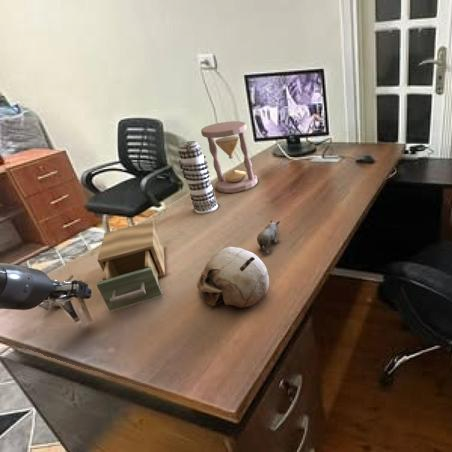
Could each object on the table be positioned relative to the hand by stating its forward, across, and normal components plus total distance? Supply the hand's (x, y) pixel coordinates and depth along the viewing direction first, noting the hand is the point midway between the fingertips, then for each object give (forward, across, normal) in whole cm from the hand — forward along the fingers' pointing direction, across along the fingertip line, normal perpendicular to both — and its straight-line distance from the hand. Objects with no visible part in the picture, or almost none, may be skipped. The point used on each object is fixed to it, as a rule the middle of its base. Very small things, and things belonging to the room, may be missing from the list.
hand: (76, 295), depth 77 cm
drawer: (+12, -7, -1) cm, 14 cm away
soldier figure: (+14, +12, -2) cm, 19 cm away
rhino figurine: (+25, -40, -13) cm, 49 cm away
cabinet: (+21, -3, -9) cm, 23 cm away
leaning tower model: (+47, -13, -35) cm, 60 cm away
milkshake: (+3, 0, +6) cm, 7 cm away
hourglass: (+62, -22, -50) cm, 82 cm away
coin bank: (+9, -32, +3) cm, 33 cm away
